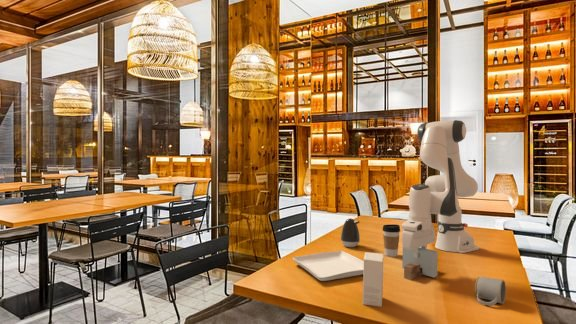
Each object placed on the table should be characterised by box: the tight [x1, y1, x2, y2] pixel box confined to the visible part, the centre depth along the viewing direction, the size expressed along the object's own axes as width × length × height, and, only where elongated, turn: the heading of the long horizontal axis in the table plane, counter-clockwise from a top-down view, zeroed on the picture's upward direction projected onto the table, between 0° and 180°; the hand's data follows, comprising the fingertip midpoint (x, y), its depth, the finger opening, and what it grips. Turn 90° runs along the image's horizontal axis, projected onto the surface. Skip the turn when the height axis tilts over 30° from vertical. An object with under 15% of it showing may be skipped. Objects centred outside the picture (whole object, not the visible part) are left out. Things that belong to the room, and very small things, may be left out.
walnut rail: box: [403, 262, 423, 281], centre depth 140 cm, size 18×3×5 cm, turn 129°
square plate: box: [292, 250, 364, 282], centre depth 146 cm, size 27×27×4 cm
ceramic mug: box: [474, 276, 507, 307], centre depth 115 cm, size 11×8×8 cm
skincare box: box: [362, 251, 384, 308], centre depth 114 cm, size 8×7×16 cm
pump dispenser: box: [340, 218, 361, 248], centre depth 183 cm, size 10×10×15 cm
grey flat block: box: [401, 246, 439, 278], centre depth 140 cm, size 14×3×10 cm, turn 39°
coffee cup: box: [382, 224, 401, 258], centre depth 166 cm, size 8×8×15 cm
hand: (419, 256), depth 140 cm, fingers closed on grey flat block, 3 cm apart
